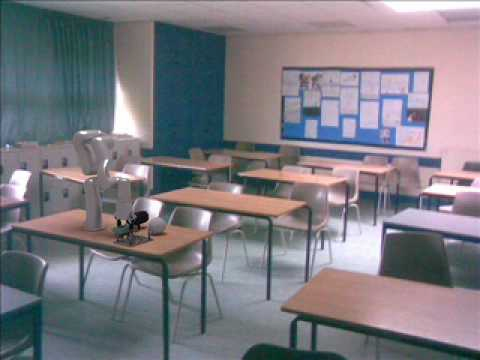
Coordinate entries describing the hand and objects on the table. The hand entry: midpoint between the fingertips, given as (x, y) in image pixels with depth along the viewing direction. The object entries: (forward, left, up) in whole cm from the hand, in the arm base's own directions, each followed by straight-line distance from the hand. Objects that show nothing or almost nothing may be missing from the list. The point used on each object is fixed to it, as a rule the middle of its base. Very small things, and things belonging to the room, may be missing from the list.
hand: (125, 228), depth 312 cm
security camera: (-6, +15, -5) cm, 17 cm away
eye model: (+11, +15, -5) cm, 19 cm away
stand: (-1, 0, -4) cm, 4 cm away
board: (-1, 0, -1) cm, 2 cm away
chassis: (+12, -6, -4) cm, 14 cm away
